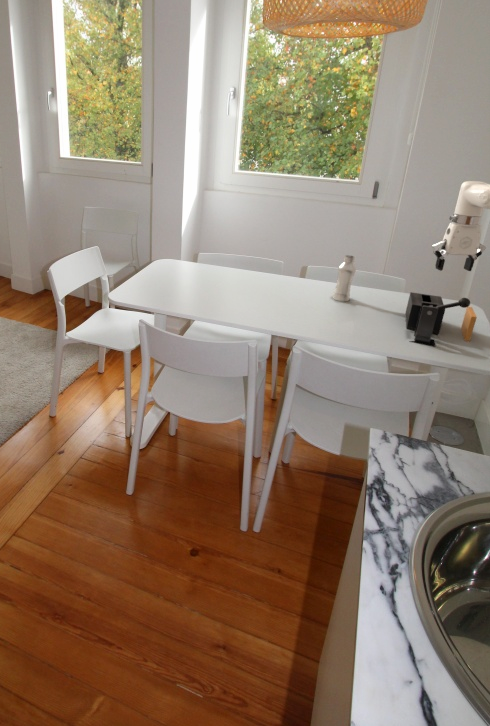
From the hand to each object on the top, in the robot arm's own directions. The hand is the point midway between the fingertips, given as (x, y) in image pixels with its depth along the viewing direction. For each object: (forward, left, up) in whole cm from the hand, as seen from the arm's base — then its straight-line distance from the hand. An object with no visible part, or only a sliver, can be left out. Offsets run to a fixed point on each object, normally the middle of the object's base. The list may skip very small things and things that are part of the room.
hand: (453, 269), depth 160 cm
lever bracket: (+6, +14, -23) cm, 28 cm away
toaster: (+5, +1, -23) cm, 24 cm away
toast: (-8, +3, -23) cm, 24 cm away
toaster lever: (+1, +14, -10) cm, 17 cm away
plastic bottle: (+34, -13, -23) cm, 43 cm away
